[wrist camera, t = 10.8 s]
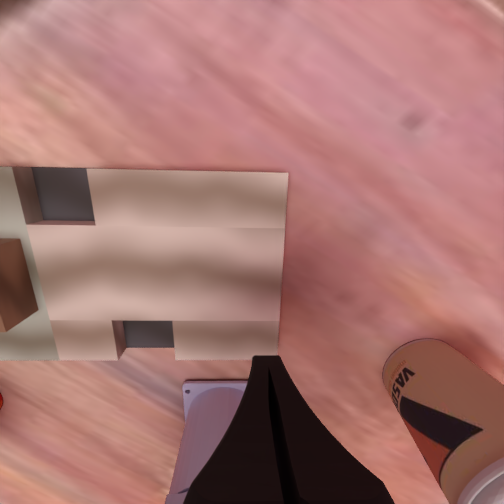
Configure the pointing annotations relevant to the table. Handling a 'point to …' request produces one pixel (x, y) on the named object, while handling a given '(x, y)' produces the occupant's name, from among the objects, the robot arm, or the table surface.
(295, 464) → the robot arm
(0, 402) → the paper cup
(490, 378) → the coffee cup
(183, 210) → the board
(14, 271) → the walnut block
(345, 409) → the table surface
